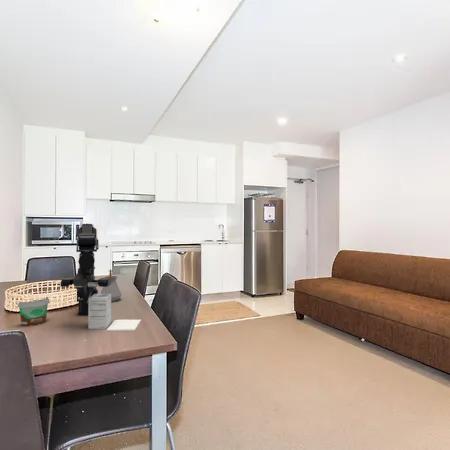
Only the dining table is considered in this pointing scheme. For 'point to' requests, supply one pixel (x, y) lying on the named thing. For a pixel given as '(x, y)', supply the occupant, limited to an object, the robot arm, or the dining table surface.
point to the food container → (33, 312)
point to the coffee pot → (112, 288)
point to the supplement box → (99, 311)
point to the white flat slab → (124, 325)
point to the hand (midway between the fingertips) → (86, 303)
